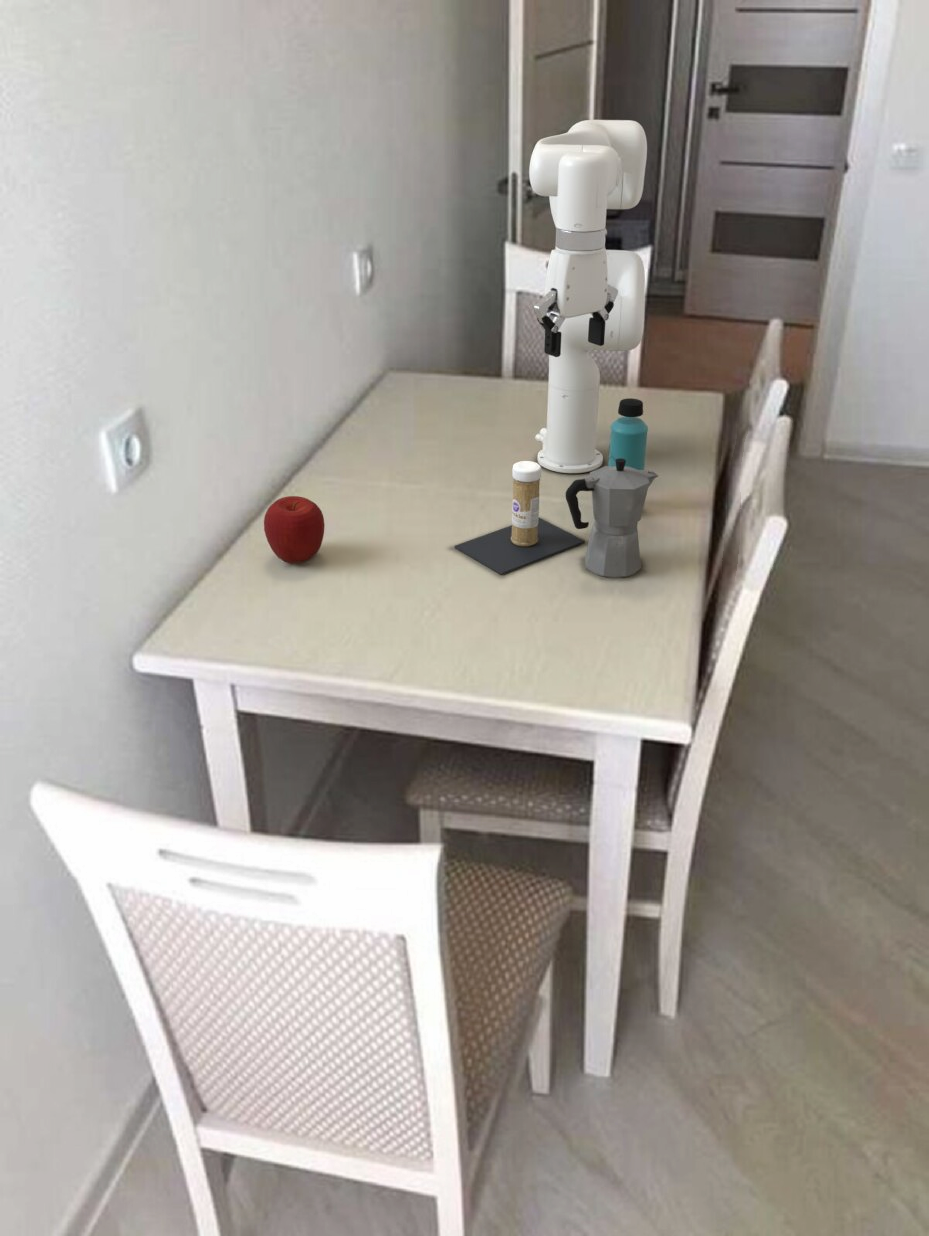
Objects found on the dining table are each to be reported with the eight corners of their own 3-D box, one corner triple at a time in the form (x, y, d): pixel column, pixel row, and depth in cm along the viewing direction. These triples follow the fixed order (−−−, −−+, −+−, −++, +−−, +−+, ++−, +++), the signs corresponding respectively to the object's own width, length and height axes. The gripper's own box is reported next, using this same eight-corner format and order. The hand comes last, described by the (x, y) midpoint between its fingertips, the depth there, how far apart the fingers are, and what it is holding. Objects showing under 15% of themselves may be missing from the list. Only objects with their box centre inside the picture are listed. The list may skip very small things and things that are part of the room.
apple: (278, 577, 165) (272, 518, 160) (259, 552, 172) (253, 495, 167) (335, 563, 169) (331, 506, 164) (314, 539, 176) (309, 484, 171)
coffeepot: (635, 545, 174) (644, 442, 165) (663, 571, 166) (675, 464, 157) (549, 560, 170) (554, 455, 160) (574, 587, 162) (581, 478, 153)
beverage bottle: (644, 505, 188) (654, 396, 177) (637, 520, 182) (647, 409, 172) (608, 500, 189) (616, 392, 179) (600, 515, 184) (608, 404, 174)
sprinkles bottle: (505, 542, 174) (506, 466, 167) (522, 532, 177) (524, 457, 170) (527, 550, 172) (529, 473, 165) (544, 540, 175) (547, 464, 168)
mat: (454, 547, 173) (454, 545, 173) (536, 518, 183) (536, 516, 183) (501, 575, 165) (501, 573, 165) (584, 542, 175) (585, 540, 175)
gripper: (602, 229, 171) (596, 334, 179) (521, 243, 161) (519, 353, 170) (636, 236, 166) (628, 344, 174) (555, 251, 156) (550, 365, 165)
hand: (574, 349), depth 172 cm, fingers open, 9 cm apart
